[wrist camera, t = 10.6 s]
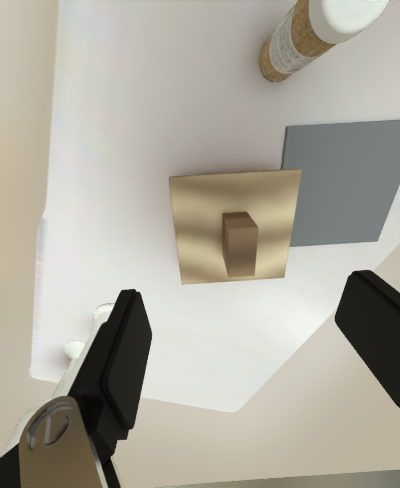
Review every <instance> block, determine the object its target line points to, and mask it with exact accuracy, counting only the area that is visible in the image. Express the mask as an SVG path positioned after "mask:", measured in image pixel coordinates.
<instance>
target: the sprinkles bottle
mask: <svg viewBox="0 0 400 488" xmlns="http://www.w3.org/2000/svg"><path fill="white" fill-rule="evenodd" d="M388 2H389V0H299V1H298V2H297V3H296V5H295V6H294V7H293V8H292V9H291V10H290V11H289V13H288V14H287V15H286V16H285V18H284V19H283V20H282V22H281V23H280V24H279V26H278V27H277V28H276V30H275V32H274V33H273V34H272V35H271V36H270V37H269V38H268V39H267V41H266V42H265V44H264V46H263V48H262V52H261V56H260V66H261V70H262V72H263V75H264V76H265V77H266V78H267V79H269V80H270V81H274V82H278V81H282V80H284V79H286V78H287V77H288V76H290V75H291V74H292V73H294V72H296V71H298V70H299V69H301V68H302V67H304V66H305V65H307V64H308V63H310V62H312V61H313V60H315V59H316V58H318V57H319V56H321V55H322V54H324V53H325V52H327V51H328V50H329V49H330V48H332V47H333V46H334V45H336V44H338V43H341V42H344V41H346V40H348V39H350V38H352V37H353V36H355V35H356V34H358V33H359V32H361V31H362V30H364V29H365V28H366V27H368V26H369V25H370V24H371V23H373V22H374V21H375V20H376V19H377V17H378V16H379V15H380V14H381V13H382V11H383V10H384V9H385V7H386V5H387V4H388Z"/></svg>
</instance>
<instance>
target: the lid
mask: <svg viewBox="0 0 400 488" xmlns="http://www.w3.org/2000/svg"><path fill="white" fill-rule="evenodd" d="M301 173H302V169H298V168H297V169H281V170H266V171H250V172H234V173H219V174H203V175H187V176H172V177H169V185H170V193H171V201H172V209H173V218H174V226H175V234H176V242H177V250H178V259H179V267H180V275H181V283H182V285H184V284H199V283H214V282H229V281H244V280H259V279H274V278H284V276H285V270H286V264H287V258H288V252H289V245H290V239H291V233H292V227H293V221H294V215H295V209H296V203H297V197H298V191H299V185H300V179H301Z"/></svg>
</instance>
